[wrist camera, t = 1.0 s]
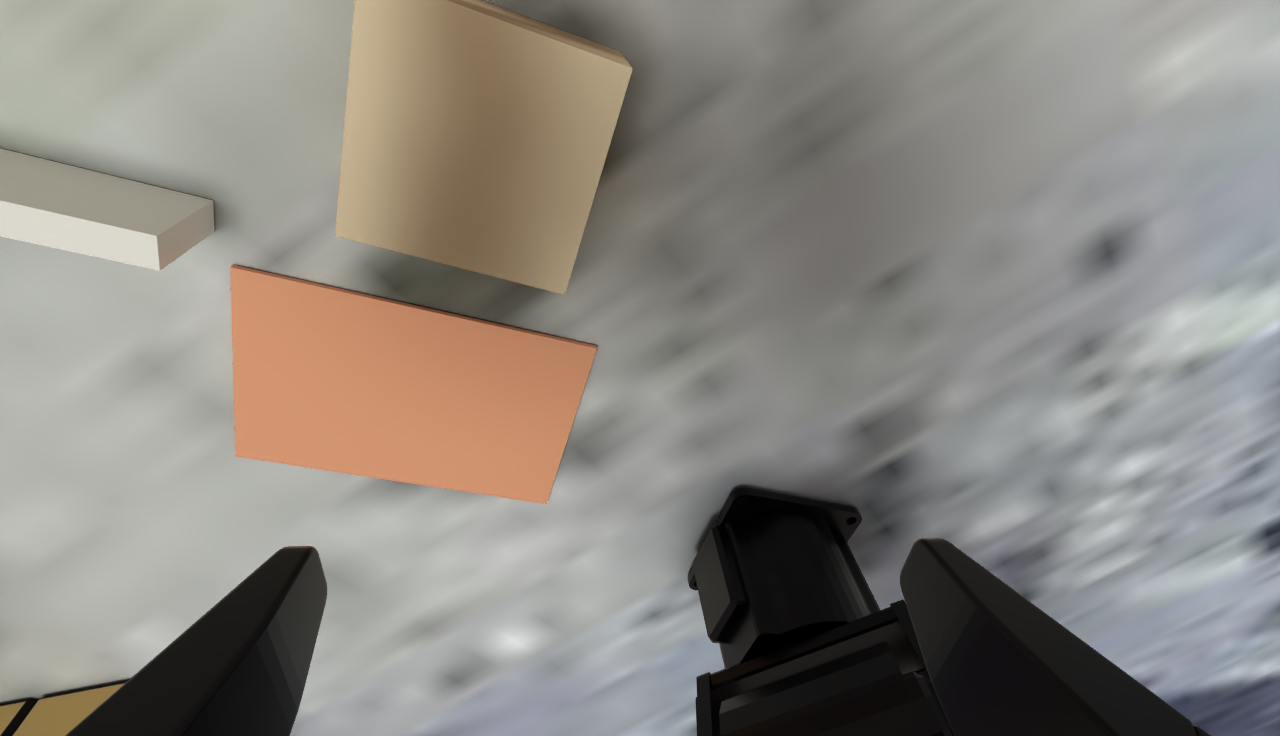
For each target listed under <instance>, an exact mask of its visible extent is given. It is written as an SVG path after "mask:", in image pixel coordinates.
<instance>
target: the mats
mask: <svg viewBox="0 0 1280 736" xmlns="http://www.w3.org/2000/svg"><path fill="white" fill-rule="evenodd" d="M230 270H231V306H232V342H233V378H234V414H235V450H236V456H237V457H243V458H250V459H256V460H263V461H269V462H276V463H282V464H289V465H295V466H302V467H308V468H315V469H322V470H328V471H335V472H341V473H348V474H354V475H361V476H367V477H374V478H380V479H387V480H393V481H400V482H406V483H413V484H419V485H426V486H432V487H439V488H445V489H452V490H458V491H465V492H471V493H478V494H484V495H491V496H498V497H504V498H511V499H517V500H524V501H530V502H537V503H543V504H547V501H548V498H549V495H550V492H551V489H552V486H553V483H554V480H555V477H556V474H557V470H558V467H559V464H560V461H561V458H562V455H563V452H564V449H565V446H566V443H567V440H568V437H569V434H570V430H571V427H572V424H573V421H574V418H575V415H576V412H577V409H578V406H579V403H580V400H581V397H582V393H583V390H584V387H585V384H586V381H587V378H588V375H589V372H590V369H591V366H592V363H593V360H594V356H595V353H596V350H597V346H595V345H591V344H587V343H582V342H578V341H573V340H569V339H564V338H560V337H555V336H551V335H546V334H542V333H537V332H533V331H528V330H524V329H519V328H515V327H510V326H506V325H501V324H497V323H492V322H488V321H484V320H479V319H475V318H470V317H466V316H461V315H457V314H452V313H448V312H443V311H439V310H434V309H430V308H425V307H421V306H416V305H412V304H407V303H403V302H398V301H394V300H389V299H385V298H380V297H376V296H372V295H367V294H363V293H358V292H354V291H349V290H345V289H340V288H336V287H331V286H327V285H322V284H318V283H313V282H309V281H304V280H300V279H295V278H291V277H286V276H282V275H277V274H273V273H269V272H264V271H260V270H255V269H251V268H246V267H242V266H237V265H232V266H231V267H230Z"/></svg>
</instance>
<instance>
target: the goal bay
mask: <svg viewBox="0 0 1280 736" xmlns="http://www.w3.org/2000/svg"><path fill="white" fill-rule="evenodd" d="M214 231H215V230H214V205H213V200H209V199H205V198H201V197H197V196H193V195H189V194H185V193H181V192H177V191H172V190H168V189H164V188H160V187H156V186H152V185H148V184H144V183H140V182H136V181H132V180H128V179H123V178H119V177H115V176H111V175H107V174H103V173H99V172H95V171H91V170H87V169H83V168H79V167H74V166H70V165H66V164H62V163H58V162H54V161H50V160H46V159H42V158H38V157H34V156H30V155H25V154H21V153H17V152H13V151H9V150H5V149H1V148H0V236H1V237H6V238H11V239H15V240H20V241H25V242H29V243H34V244H39V245H43V246H48V247H52V248H57V249H62V250H66V251H71V252H76V253H80V254H85V255H90V256H94V257H99V258H104V259H108V260H113V261H117V262H122V263H127V264H131V265H136V266H141V267H145V268H150V269H155V270H159V271H160V270H161V269H163V268H164V267H166V266H167V265H168V264H170V263H171V262H173V261H174V260H175V259H177V258H178V257H180V256H181V255H182V254H184V253H185V252H187V251H188V250H189V249H191V248H192V247H193V246H195V245H196V244H198V243H199V242H200V241H202V240H203V239H205V238H206V237H207V236H209V235H210V234H212V233H213V232H214Z"/></svg>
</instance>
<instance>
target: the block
mask: <svg viewBox="0 0 1280 736" xmlns="http://www.w3.org/2000/svg"><path fill="white" fill-rule="evenodd" d="M632 70H633V68H632V67H631V65H630V64H629V63H628V61H627V60H626V59H625V57H624V56H623V55H622V53H621V52H619V51H617V50H614V49H611V48H608V47H606V46H603V45H600V44H598V43H595V42H592V41H590V40H587V39H584V38H582V37H579V36H576V35H574V34H571V33H568V32H566V31H563V30H560V29H557V28H555V27H552V26H549V25H547V24H544V23H541V22H539V21H536V20H533V19H531V18H528V17H525V16H523V15H520V14H517V13H515V12H512V11H509V10H506V9H504V8H501V7H498V6H496V5H493V4H490V3H488V2H485V1H482V0H355V5H354V17H353V29H352V40H351V52H350V64H349V75H348V87H347V99H346V111H345V122H344V134H343V146H342V157H341V169H340V181H339V193H338V204H337V216H336V228H335V236H338V237H342V238H346V239H350V240H354V241H358V242H362V243H366V244H369V245H373V246H377V247H381V248H385V249H389V250H393V251H397V252H400V253H404V254H408V255H412V256H416V257H420V258H424V259H428V260H431V261H435V262H439V263H443V264H447V265H451V266H455V267H459V268H462V269H466V270H470V271H474V272H478V273H482V274H486V275H490V276H493V277H497V278H501V279H505V280H509V281H513V282H517V283H520V284H524V285H528V286H532V287H536V288H540V289H544V290H548V291H551V292H555V293H559V294H563V295H565V293H566V290H567V286H568V283H569V280H570V276H571V273H572V270H573V266H574V263H575V260H576V256H577V253H578V250H579V246H580V243H581V240H582V236H583V233H584V230H585V226H586V223H587V220H588V216H589V213H590V210H591V206H592V203H593V200H594V196H595V193H596V190H597V186H598V183H599V180H600V176H601V173H602V170H603V166H604V163H605V160H606V156H607V153H608V150H609V146H610V143H611V140H612V136H613V133H614V130H615V126H616V123H617V120H618V116H619V113H620V110H621V106H622V103H623V100H624V96H625V93H626V90H627V86H628V83H629V80H630V76H631V73H632Z"/></svg>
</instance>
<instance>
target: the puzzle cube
mask: <svg viewBox="0 0 1280 736" xmlns="http://www.w3.org/2000/svg"><path fill="white" fill-rule="evenodd" d="M125 683H126V682H122V683H117V684H111V685H106V686H101V687H95V688H90V689H85V690H80V691H74V692H69V693H64V694H59V695H53V696H48V697H44V698H41V699H39V700H38V701H37V700H36V699H30V700H25V701H20V702H15V703H9V704H4V705H0V736H65V735H66V734H67V733H68V732H70V731H71V730H72V729H73V728H74V727H75V726H77V725H78V724H79V723H80V722H81V721H82V720H83V719H85V718H86V717H87V716H88V715H89V714H90V713H92V712H93V711H94V710H95V709H96V708H97V707H98V706H100V705H101V704H102V703H103V702H104V701H105V700H107V699H108V698H109V697H110V696H111V695H112V694H113V693H115V692H116V691H117V690H118V689H119V688H120V687H122V686H123V685H124V684H125Z"/></svg>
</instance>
